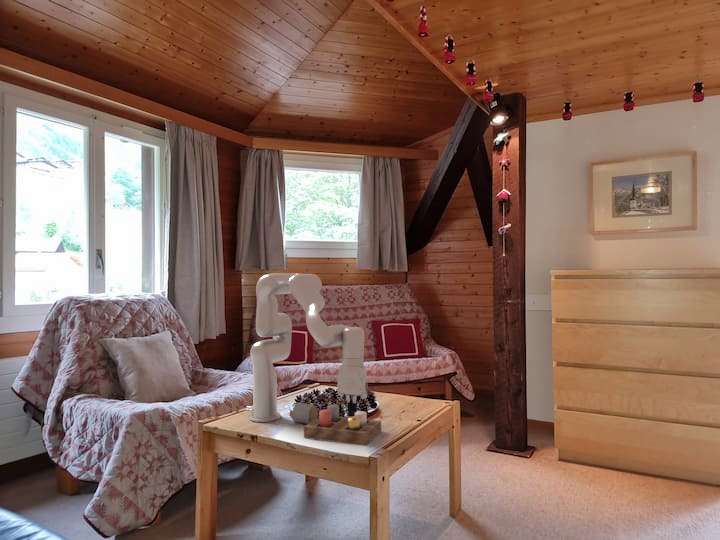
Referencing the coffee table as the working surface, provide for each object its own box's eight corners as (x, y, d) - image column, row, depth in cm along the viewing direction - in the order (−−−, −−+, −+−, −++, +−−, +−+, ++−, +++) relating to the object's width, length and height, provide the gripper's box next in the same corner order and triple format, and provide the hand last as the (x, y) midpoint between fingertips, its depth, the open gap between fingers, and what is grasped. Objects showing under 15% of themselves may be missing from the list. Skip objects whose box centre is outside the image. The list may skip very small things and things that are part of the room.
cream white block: (352, 428, 188) (352, 413, 188) (357, 424, 192) (357, 410, 192) (364, 429, 186) (364, 414, 186) (368, 425, 190) (368, 411, 190)
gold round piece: (345, 433, 181) (345, 419, 181) (350, 430, 185) (350, 415, 185) (357, 435, 180) (357, 420, 180) (361, 431, 184) (361, 416, 184)
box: (303, 437, 184) (303, 426, 184) (322, 425, 199) (322, 414, 199) (366, 445, 176) (366, 433, 176) (381, 431, 191) (381, 420, 191)
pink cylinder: (317, 426, 185) (317, 412, 185) (322, 423, 189) (322, 408, 189) (328, 427, 184) (328, 413, 184) (333, 424, 188) (333, 410, 188)
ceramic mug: (310, 426, 198) (310, 406, 198) (291, 424, 201) (291, 404, 201) (322, 419, 207) (322, 400, 207) (304, 417, 210) (304, 398, 211)
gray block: (325, 421, 192) (325, 407, 192) (330, 417, 196) (330, 404, 196) (336, 422, 190) (336, 408, 190) (340, 419, 194) (340, 405, 194)
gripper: (329, 362, 182) (328, 413, 182) (369, 365, 177) (368, 418, 177) (337, 358, 189) (337, 408, 189) (376, 361, 184) (375, 412, 184)
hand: (352, 413), depth 183 cm, fingers closed
